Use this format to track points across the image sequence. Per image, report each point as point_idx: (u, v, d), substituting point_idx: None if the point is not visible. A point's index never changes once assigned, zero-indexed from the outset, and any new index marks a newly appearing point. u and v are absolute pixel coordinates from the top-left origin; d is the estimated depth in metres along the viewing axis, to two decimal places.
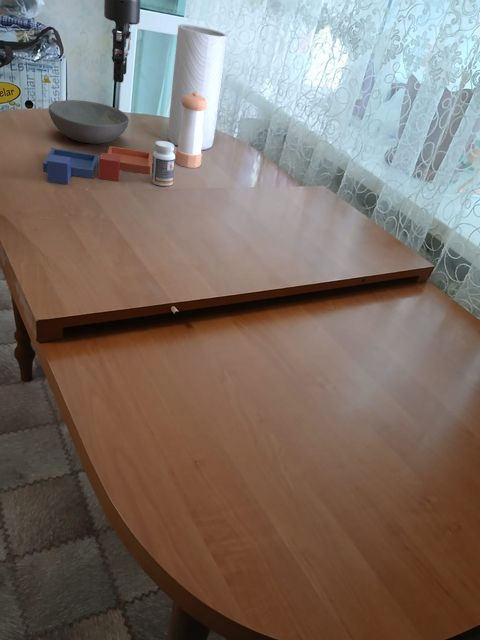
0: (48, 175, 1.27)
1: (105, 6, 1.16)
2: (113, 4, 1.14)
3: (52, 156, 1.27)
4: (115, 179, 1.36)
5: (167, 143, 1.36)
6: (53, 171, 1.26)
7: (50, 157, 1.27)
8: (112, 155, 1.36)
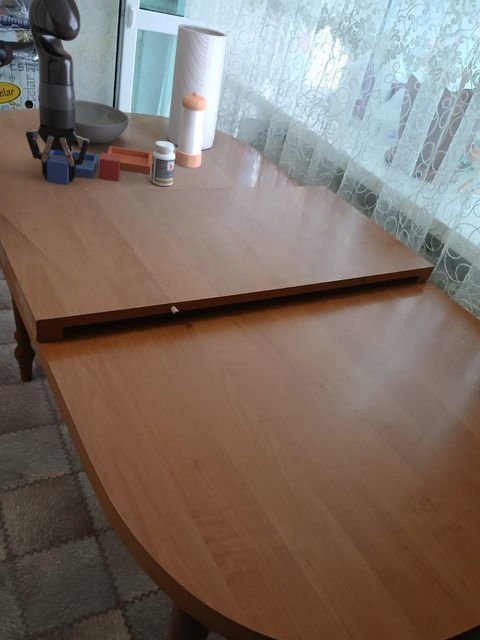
0: (48, 175, 1.27)
1: None
2: None
3: (52, 156, 1.27)
4: (115, 179, 1.36)
5: (167, 143, 1.36)
6: (53, 171, 1.26)
7: (50, 157, 1.27)
8: (112, 155, 1.36)
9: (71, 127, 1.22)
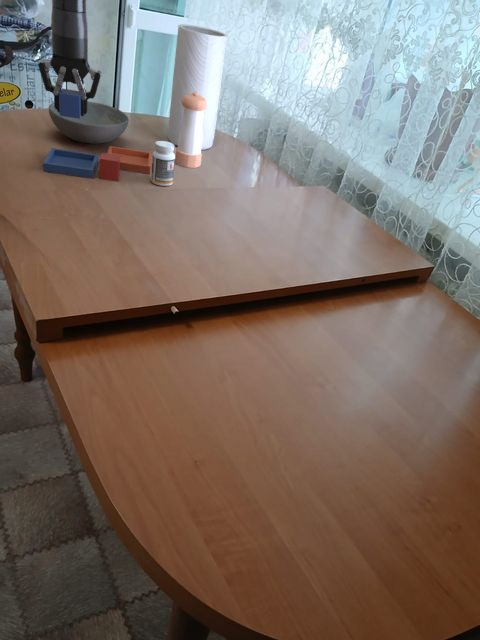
0: (60, 108, 1.27)
1: None
2: None
3: (64, 90, 1.27)
4: (115, 179, 1.36)
5: (167, 143, 1.36)
6: (65, 105, 1.26)
7: (62, 90, 1.27)
8: (112, 155, 1.36)
9: (83, 57, 1.22)
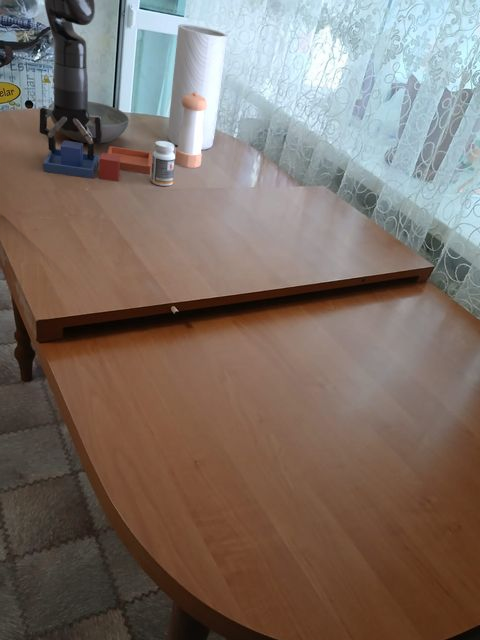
0: (62, 160, 1.34)
1: None
2: None
3: (65, 142, 1.35)
4: (115, 179, 1.36)
5: (167, 143, 1.36)
6: (66, 156, 1.34)
7: (64, 143, 1.34)
8: (112, 155, 1.36)
9: (84, 108, 1.28)
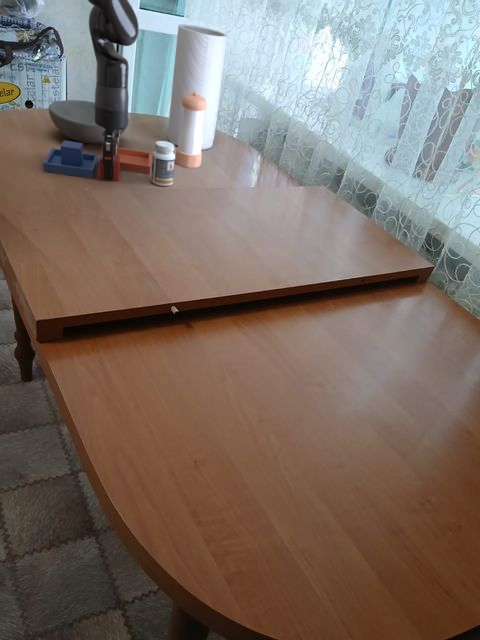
0: (62, 160, 1.34)
1: (95, 114, 1.27)
2: (102, 114, 1.25)
3: (65, 142, 1.35)
4: (115, 179, 1.36)
5: (167, 143, 1.36)
6: (66, 156, 1.34)
7: (64, 143, 1.34)
8: None
9: None
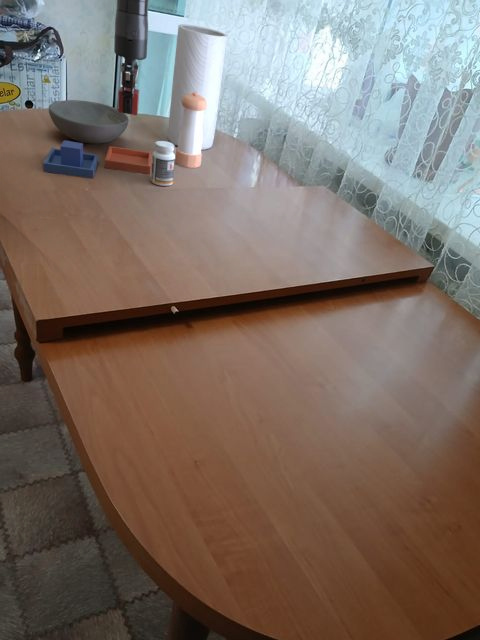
0: (62, 160, 1.34)
1: (115, 44, 1.27)
2: (122, 42, 1.25)
3: (65, 142, 1.35)
4: (134, 113, 1.35)
5: (167, 143, 1.36)
6: (66, 156, 1.34)
7: (64, 143, 1.34)
8: None
9: None
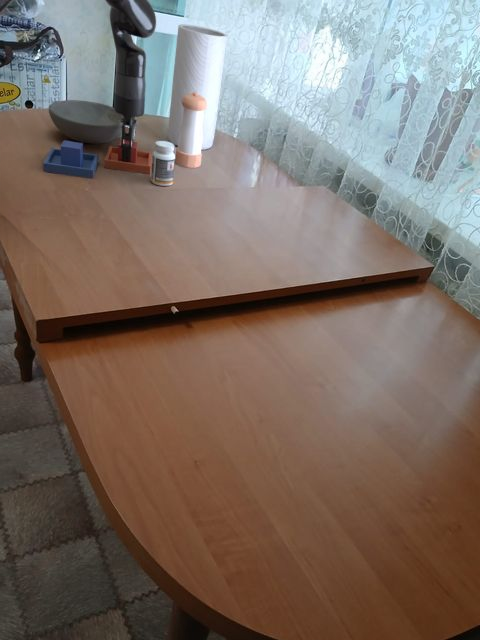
0: (62, 160, 1.34)
1: (115, 102, 1.36)
2: (121, 102, 1.34)
3: (65, 142, 1.35)
4: None
5: (167, 143, 1.36)
6: (66, 156, 1.34)
7: (64, 143, 1.34)
8: None
9: None
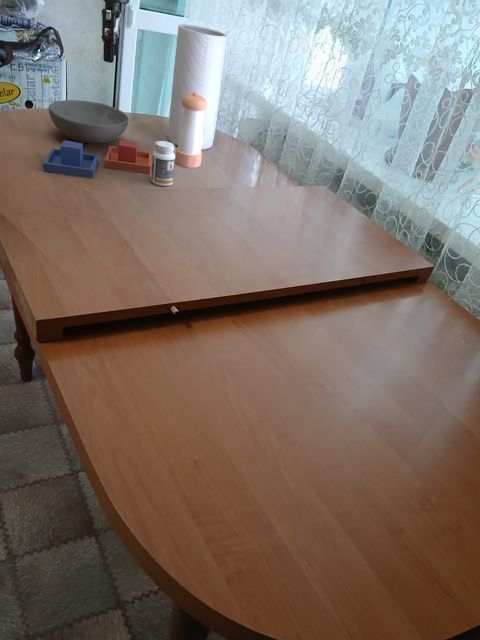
0: (62, 160, 1.34)
1: None
2: None
3: (65, 142, 1.35)
4: None
5: (167, 143, 1.36)
6: (66, 156, 1.34)
7: (64, 143, 1.34)
8: (130, 142, 1.44)
9: None
